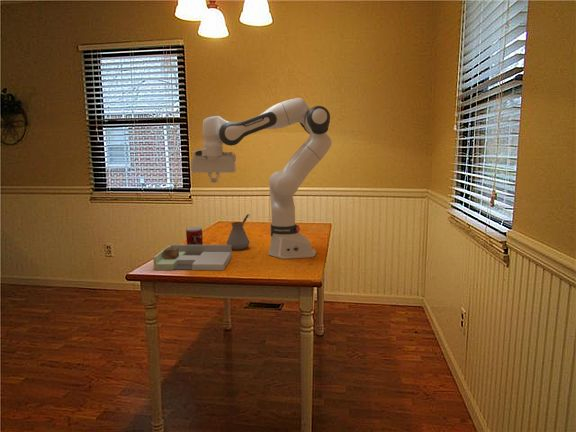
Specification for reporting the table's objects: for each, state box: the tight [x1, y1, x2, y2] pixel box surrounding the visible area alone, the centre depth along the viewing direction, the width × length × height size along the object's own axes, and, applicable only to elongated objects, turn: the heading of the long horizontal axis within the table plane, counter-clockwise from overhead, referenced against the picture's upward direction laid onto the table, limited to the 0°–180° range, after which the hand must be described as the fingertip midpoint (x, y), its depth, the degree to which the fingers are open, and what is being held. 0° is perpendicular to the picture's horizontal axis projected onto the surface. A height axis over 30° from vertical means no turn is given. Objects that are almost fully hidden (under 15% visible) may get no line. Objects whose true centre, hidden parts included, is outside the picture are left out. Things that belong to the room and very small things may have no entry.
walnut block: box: [164, 246, 179, 259], centre depth 175 cm, size 5×5×4 cm
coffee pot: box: [226, 213, 251, 251], centre depth 204 cm, size 21×12×15 cm, turn 164°
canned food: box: [185, 226, 204, 245], centre depth 196 cm, size 8×8×11 cm
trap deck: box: [152, 244, 233, 271], centre depth 175 cm, size 29×21×6 cm
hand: (214, 182), depth 185 cm, fingers closed
